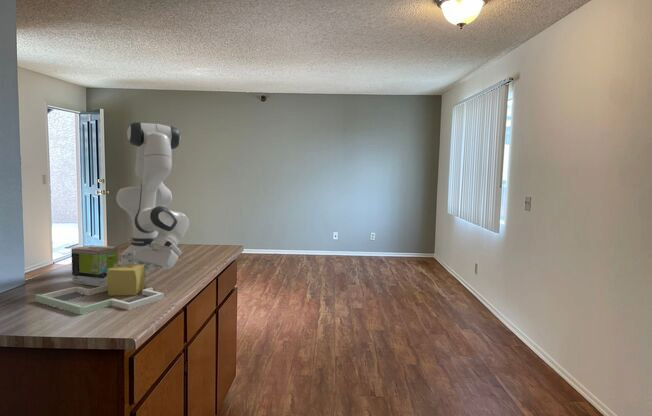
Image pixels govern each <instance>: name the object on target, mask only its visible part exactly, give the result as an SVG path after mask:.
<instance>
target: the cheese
mask: <svg viewBox="0 0 652 416" xmlns="http://www.w3.org/2000/svg"><path fill="white" fill-rule="evenodd" d="M145 277H146V275H145V268H144V264H128V265H124V266H119V265H118V266H116V267H112V268H110V269H108V270H107V277H106V282H107V290H108V291H107V294H108V296H109V297H110V296H113V297H114V296H136V295H138V294H139V293H140V292H142V290H144V289H145V286H146V285H145V284H146V283H145V282H146V278H145Z"/></svg>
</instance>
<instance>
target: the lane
mask: <svg viewBox="0 0 652 416" xmlns="http://www.w3.org/2000/svg"><path fill="white" fill-rule="evenodd" d="M103 291H104V292H108V291H107V285H104V286H95V287H93V288H92V287H91V288H86V287H83V286H73V287H68V288H64V289H58V290H56V291H52V292H47V293H42V294H40V293H36V294H34V296H35V297H34V301H35V302H36V303H38V302H39V304H42V303H43V305H45V304H47V305H46V306H48V305H51V306H50V307H52V306H55V307H58V308H57V309H59V308H62V309H65V310H67V311H66V312H69V311H70V313H72V312H74V313H73V314H75V313H78V314H77V315H79V314H82V315H84V314H83V313H85V314H87V313H86V312H88V313H91V312H90V311H92V312H94V310H95V311H98V310H101V308H102V309H104V307H105V308H108V307H111V306H112V307H116V308H119V309H124V310H127V311H131V310H133V308H134V309H136V307H137V308H139V307H142V306H147V305H149V304H152V303H154V302H155V303H156V302H158V301H160V300H164V299H165V295H164V292H161V291H155V290H154V287H148V288H144V289H143V290H141V295H139V296H136V297H133V298H129V299H126V300H120V299H116V298H109V299H105V300H102V301H98V302H95V303H91V304H88V305H85V306H82V305H79V304H75V303H71V302H68V301H69V299H70V300H73V298H74V299H76V297H78V298H81V297H84V295H85V294H86V295H85V296H88V295H89V296H92V295H91V294H93V295H95V293H97V294H100V293H99V292H101V293H103ZM81 293H82V294H81ZM80 296H81V297H80ZM65 300H66V301H65ZM55 307H54V308H55ZM62 309H61V310H62ZM97 309H98V310H97ZM65 310H64V311H65Z"/></svg>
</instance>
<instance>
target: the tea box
mask: <svg viewBox="0 0 652 416" xmlns="http://www.w3.org/2000/svg"><path fill="white" fill-rule="evenodd" d="M70 250H71V277H72V283H73V284H78V285H84V286H85V285H86V286H92V287H94V286H95V287H100V286H104V285H107V282H106V277H107V270H108V269H110V268H112V267H116V266H119V265H118V262H119V248H118V246H109V245H108V246H107V245H94V244H91V245H90V244H89V245H85V246H79V247H72V248H71V249H70Z"/></svg>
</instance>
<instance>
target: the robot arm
mask: <svg viewBox="0 0 652 416" xmlns="http://www.w3.org/2000/svg"><path fill="white" fill-rule="evenodd" d="M126 137H127V140H128V142H129V143H130V144H131V145H133V146H135V147H137V150H136V157H135V167H134V171H135V172H134V173H135V174H136V176H137V177H138V178H139V179H141V184H140V185H139V186H126V187H123V188H122V187H121V188H120V189H119V190H118V191H117V193H116V196H115V197H116V198H115V200H116V203H117V205H118V206H119V207H120V208H121V209H123V210H124V211H125V212H126V214H128V216H129V218H130V219H131V223H132V231H133V234H132V235H133V236H132V237H130V238H129V239H130V240H129V241H130V242H131V243H130V245H129V246H128V247H127V248H126V249H125V250H123V251H122V253H121V260H118V266H124V265H128V264H144V268H145V276H149V275H150V274H151V272H153V271H154V270H156V268H158V269H163V270H171V269H172V268H173V267H174V265H175V264H176V262H177V261H178V259H179V257H180V256H181V255H182V251H181V250H180V248H179V247H178V243H179V242H180V240H181V239H183V237H184V235H185V234H186V232H187V230H188V229H189V226H190V219H189V217H187V215H186V214H184V213H183V212H180V211H173V210H171V209H168V208H167V207H169V205H170V204H171V203H172V201H173V195H172V191H171V190H170V189H169V188H168V187H167V186H166V185H165V184H164V181H165V180H166V178H168V177H169V176H170V174H171V171H172V165H173V162H172V161H173V156H172V155H173V154H172V150H174V149H177V148H179V145H180V142H181V134H180V130H179V129H178V127H175V126H171V125H170V126H169V125H165V124H161V123H152V122H151V123H149V122H141V121H140V122H139V121H135V122H131V123H130V124H129V127H128V128H127V131H126Z"/></svg>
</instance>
